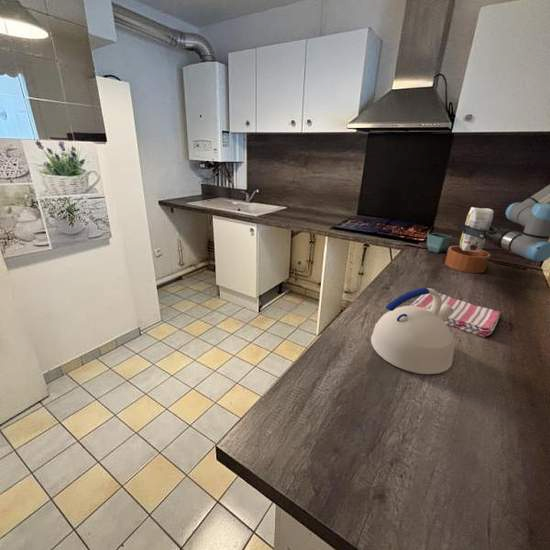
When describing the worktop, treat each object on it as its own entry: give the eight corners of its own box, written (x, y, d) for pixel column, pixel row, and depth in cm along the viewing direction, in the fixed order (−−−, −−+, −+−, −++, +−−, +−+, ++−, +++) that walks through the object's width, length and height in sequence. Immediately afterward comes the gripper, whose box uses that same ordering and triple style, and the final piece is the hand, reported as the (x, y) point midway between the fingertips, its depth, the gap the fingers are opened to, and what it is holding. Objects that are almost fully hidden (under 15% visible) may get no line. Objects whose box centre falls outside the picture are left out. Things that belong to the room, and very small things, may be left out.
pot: (487, 266, 139) (492, 251, 136) (482, 276, 128) (488, 260, 125) (448, 257, 149) (452, 243, 146) (441, 266, 137) (445, 251, 134)
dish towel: (489, 340, 83) (493, 329, 82) (407, 309, 98) (409, 300, 96) (499, 318, 95) (502, 309, 93) (424, 294, 109) (426, 285, 108)
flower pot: (447, 252, 157) (452, 236, 154) (439, 255, 153) (443, 238, 149) (432, 247, 164) (436, 232, 160) (423, 250, 159) (427, 234, 156)
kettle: (472, 366, 72) (496, 303, 65) (402, 382, 67) (421, 314, 60) (415, 323, 90) (429, 269, 83) (356, 332, 84) (365, 275, 77)
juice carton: (482, 253, 130) (496, 211, 123) (460, 250, 133) (473, 209, 125) (477, 248, 137) (490, 208, 130) (457, 246, 140) (469, 206, 132)
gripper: (479, 249, 115) (444, 233, 135) (530, 249, 117) (488, 234, 138) (486, 230, 112) (449, 218, 132) (538, 231, 114) (493, 218, 135)
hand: (469, 226), depth 135 cm, fingers closed on juice carton, 9 cm apart
